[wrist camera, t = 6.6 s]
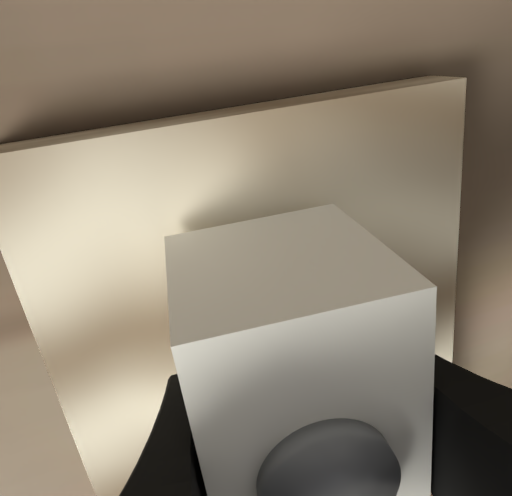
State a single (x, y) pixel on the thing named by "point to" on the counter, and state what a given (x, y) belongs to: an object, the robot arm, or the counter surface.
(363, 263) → the housing
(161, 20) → the counter surface
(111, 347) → the stand
